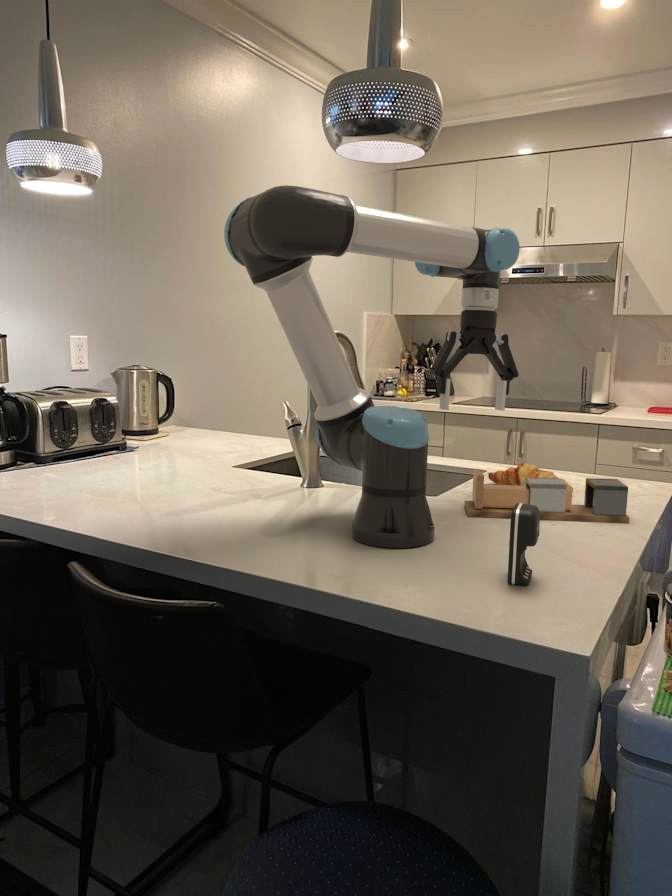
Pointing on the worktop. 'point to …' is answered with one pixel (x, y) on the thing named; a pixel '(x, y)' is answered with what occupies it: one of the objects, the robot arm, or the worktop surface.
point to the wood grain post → (503, 494)
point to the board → (547, 514)
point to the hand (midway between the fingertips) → (472, 409)
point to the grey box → (606, 496)
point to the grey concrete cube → (547, 494)
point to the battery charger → (522, 541)
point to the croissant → (521, 475)
